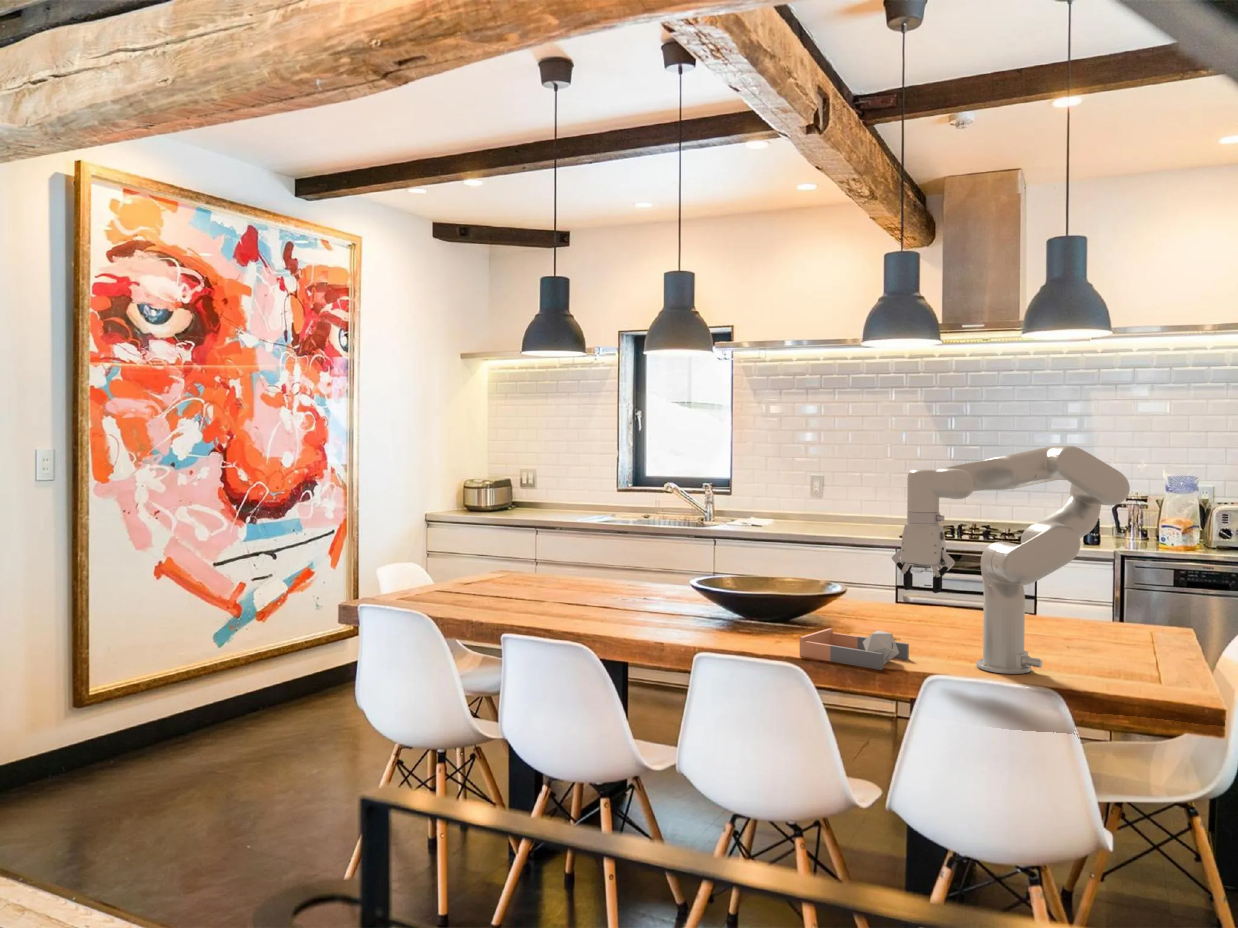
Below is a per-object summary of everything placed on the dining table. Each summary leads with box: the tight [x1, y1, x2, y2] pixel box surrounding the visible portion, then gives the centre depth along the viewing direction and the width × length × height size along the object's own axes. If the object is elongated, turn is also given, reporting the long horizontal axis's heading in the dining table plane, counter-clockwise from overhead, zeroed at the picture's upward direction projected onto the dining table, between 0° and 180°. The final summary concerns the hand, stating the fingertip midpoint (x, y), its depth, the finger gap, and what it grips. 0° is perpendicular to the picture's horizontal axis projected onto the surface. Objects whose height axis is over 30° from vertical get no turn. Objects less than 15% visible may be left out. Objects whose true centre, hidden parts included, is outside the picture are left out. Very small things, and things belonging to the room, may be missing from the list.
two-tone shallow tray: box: [799, 627, 910, 671], centre depth 239 cm, size 23×16×5 cm
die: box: [863, 630, 899, 666], centre depth 234 cm, size 8×9×10 cm
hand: (922, 590), depth 226 cm, fingers open, 6 cm apart
